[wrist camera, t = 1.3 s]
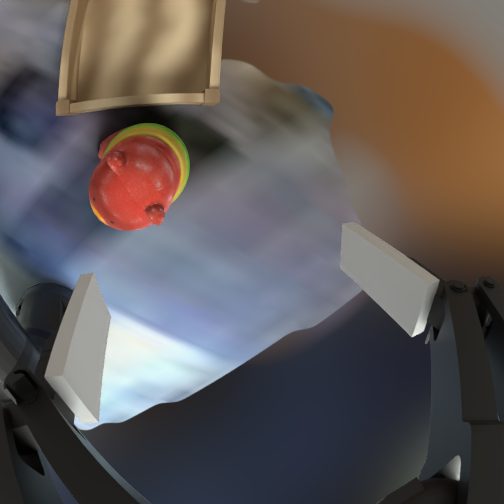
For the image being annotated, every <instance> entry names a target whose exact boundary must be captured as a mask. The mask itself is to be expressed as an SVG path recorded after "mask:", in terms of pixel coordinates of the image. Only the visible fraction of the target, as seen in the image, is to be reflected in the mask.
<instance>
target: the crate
mask: <svg viewBox="0 0 504 504" xmlns="http://www.w3.org/2000/svg"><path fill="white" fill-rule="evenodd" d="M225 3H226V0H71V3H70V7H69V12H68V17H67V23H66V28H65V34H64V41H63V49H62V57H61V67H60V79H59V97H58V101H57V102H56V116H65V115H77V114H82V113H85V112H92V111H100V110H108V109H118V108H128V107H141V106H158V105H210V106H213V105H216V104H219V103H220V89H219V80H220V64H221V50H222V38H223V26H224V14H225Z"/></svg>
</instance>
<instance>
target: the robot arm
mask: <svg viewBox="0 0 504 504" xmlns="http://www.w3.org/2000/svg"><path fill="white" fill-rule="evenodd" d="M340 269H342V270H343V271H344V272H345V273H346V274H347V275H348V276H349V277H350V278H351V279H352V280H353V281H354V282H356V283H357V284H358V285H359V286H360V287H361V288H362V289H363V290H364V291H365V292H366V293H367V294H368V295H369V296H370V297H372V299H373V300H375V301H376V302H377V303H378V304H379V305H380V306H381V307H382V308H383V309H384V310H385V311H386V312H387V313H388V314H389V315H390V316H391V317H392V318H393V319H394V320H395V321H396V322H397V323H398V324H399V325H400V326H401V327H402V328H403V329H404V330H405V331H406V332H407V333H408V334H409V335H410V336H411V337H413V336H415V335H417V334H419V333H421V332H423V331H424V328H425V325H426V322H427V321H428V322H429V323H430V324H431V328H430V330H429V333H428V336H427V338H426V341H425V344H427V343H428V340H430V345H431V371H432V372H431V374H432V375H431V376H432V378H431V380H432V386H431V419H430V433H429V444H428V453H427V459H426V463H425V464H424V466H423V468H422V470H421V473H420V475H419V479H417V477H416V478H415V479H413V480H412V481H410V482H408V483H407V484H405V485H404V486H402V487H400V488H399V489H398V490H396V491H394V492H392V493H390V494H389V495H387V496H386V497H385V498H383V499H382V500H381V501H379V502H378V503H377V504H504V290H503V289H502V287H501V286H500V284H499V283H498V282H497V281H496V280H494V279H493V278H491V277H486V276H482V277H480V278H478V281H477V284H476V286H475V287H468V286H467V285H466V284H465V283H463V282H461V281H458V280H449V281H447V282H446V281H444V280H443V279H442V278H440V277H439V276H438V275H436V274H435V273H433V272H432V271H431V270H429V269H427V268H426V267H425V266H424V265H421V263H419V262H418V261H416V260H415V259H413V258H410V257H408V256H405V255H403V254H402V253H401V252H399V251H398V250H396V249H394V248H393V247H392V246H390V245H389V244H387V243H386V242H384V241H383V240H381V239H380V238H378V237H377V236H375V235H373V234H372V233H370V232H369V231H367V230H366V229H364V228H363V227H361V226H359V225H358V224H356V223H355V222H351V223H345V224H342V240H341V255H340ZM489 315H491V317H492V321H491V323H490V325H488V324H487V320H488V318H489ZM110 319H111V316H110V314H109V311H108V309H107V306H106V304H105V301H104V299H103V296H102V294H101V291H100V288H99V286H98V283H97V280H96V278H95V275H94V272H93V273H88V274H83V275H80V277H79V279H78V282H77V284H76V286H75V289H74V291H71V290H69V289H67V288H65V287H62V286H59V285H56V284H48V283H45V284H38V285H35V286H33V287H31V288H30V289H28V290H27V291H26V292H25V294H24V295H23V297H22V298H21V300H20V302H19V304H18V307H17V311H16V317H15V316H14V314H13V313H12V311H11V310H10V308H9V307H8V305H7V304H6V302H5V301H4V299H3V298H2V296H1V295H0V504H63V502H62V500H61V498H60V495H59V493H58V491H57V489H56V486H55V484H54V481H53V479H52V476H51V473H50V471H49V468H48V466H47V463H46V460H45V457H46V458H47V460H48V461H49V463H50V465H51V466H52V467H53V469H54V470H55V472H56V474H57V475H58V476H59V478H60V479H61V481H62V482H63V483H64V484H65V486H66V487H67V489H68V490H69V491H70V493H71V494H72V495H73V497H74V498H75V499H76V500H77V502H78V503H79V504H151V503H150V502H148V501H147V500H146V499H145V498H144V497H143V496H142V495H140V494H139V493H138V492H137V491H136V490H135V489H134V488H133V487H132V486H131V485H129V484H128V483H127V482H126V481H125V480H124V479H123V478H122V477H121V476H120V475H119V474H118V473H117V472H116V471H115V470H114V469H113V468H112V467H111V466H110V465H109V464H108V463H107V462H106V460H104V458H103V457H102V456H101V455H100V454H99V453H98V452H97V451H96V449H95V448H94V447H93V446H92V445H91V444H90V442H89V441H88V440H87V439H86V438H85V436H84V435H83V434H82V433H81V432H80V431H79V429H78V428H77V427H76V426H75V425H74V417H75V416H76V417H77V418H78V420H79V421H80V422H81V423H99V411H100V397H101V386H102V376H103V367H104V359H105V351H106V344H107V338H108V331H109V325H110ZM497 413H498V416H499V419H500V421H499V420H498V416H497ZM44 455H45V457H44Z"/></svg>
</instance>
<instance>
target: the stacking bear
mask: <svg viewBox="0 0 504 504" xmlns="http://www.w3.org/2000/svg"><path fill="white" fill-rule="evenodd" d="M98 157H99V158H100V159H101V162H100V163H99V164H98V165H97V167H96V168H95V170H94V172H93V174H92V177H91V180H90V184H89V199H90V203H91V207H92V209H93V212H94V213H95V215H96V217H98V218H99V219H100V220H101V221H102V222H103V223H105V224H107V225H109V226H111V227H113V228H116V229H119V230H129V231H130V230H139V229H142V228H145V227H147V226H149V225H151V224H153V223H154V224H155V225H160V224H161V223H162V221H163V220H164V217H165V212H166V211H167V210H168V208H169V207H170V205H171V203H172V202H174V201H175V200H176V199H177V197H178V196H179V195H180V194H181V192H182V190H183V189H184V187H185V185H186V182H187V179H188V176H189V169H190V162H189V155H188V152H187V149H186V147H185V145H184V143H183V142H182V140H181V139H180V137H179V136H178V135H177V134H176V133H175V132H173V131H172V130H170V129H169V128H167V127H165V126H162V125H159V124H154V123H142V124H137V125H133V126H129V127H126V128H123V129H121V130H119V131H117V132H115V133H113V134H112V135H110V136H109V137H107V138H106V139H105V140H104V141H102V143H101V144H100V150H99V152H98Z"/></svg>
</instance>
